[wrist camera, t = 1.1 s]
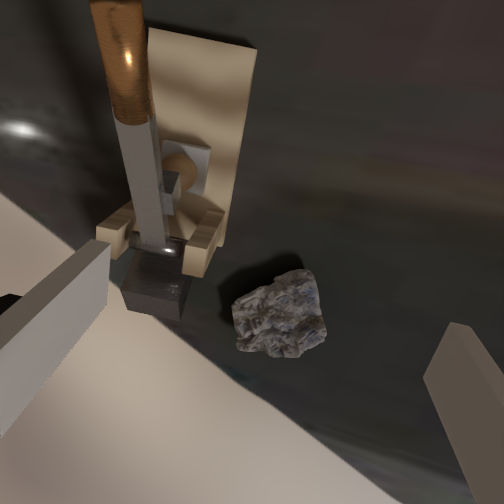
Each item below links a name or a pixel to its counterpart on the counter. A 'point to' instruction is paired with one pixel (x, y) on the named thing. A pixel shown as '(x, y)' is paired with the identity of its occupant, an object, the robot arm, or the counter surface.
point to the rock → (280, 316)
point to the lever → (142, 163)
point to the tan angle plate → (194, 139)
